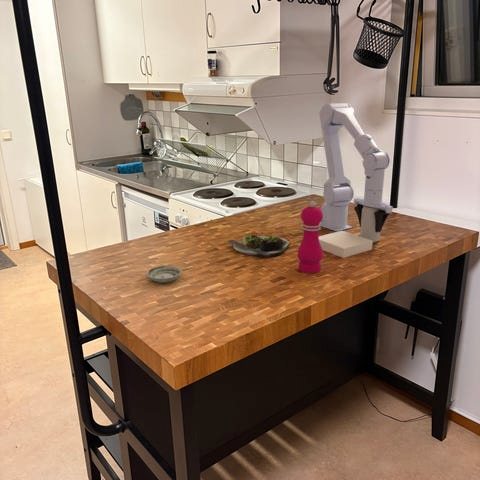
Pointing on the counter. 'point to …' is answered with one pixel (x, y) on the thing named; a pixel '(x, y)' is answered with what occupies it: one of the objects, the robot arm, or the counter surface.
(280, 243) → the salad plate
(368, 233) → the beverage can
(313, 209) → the pepper mill
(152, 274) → the saucer
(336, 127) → the robot arm
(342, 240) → the block
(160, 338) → the counter surface
